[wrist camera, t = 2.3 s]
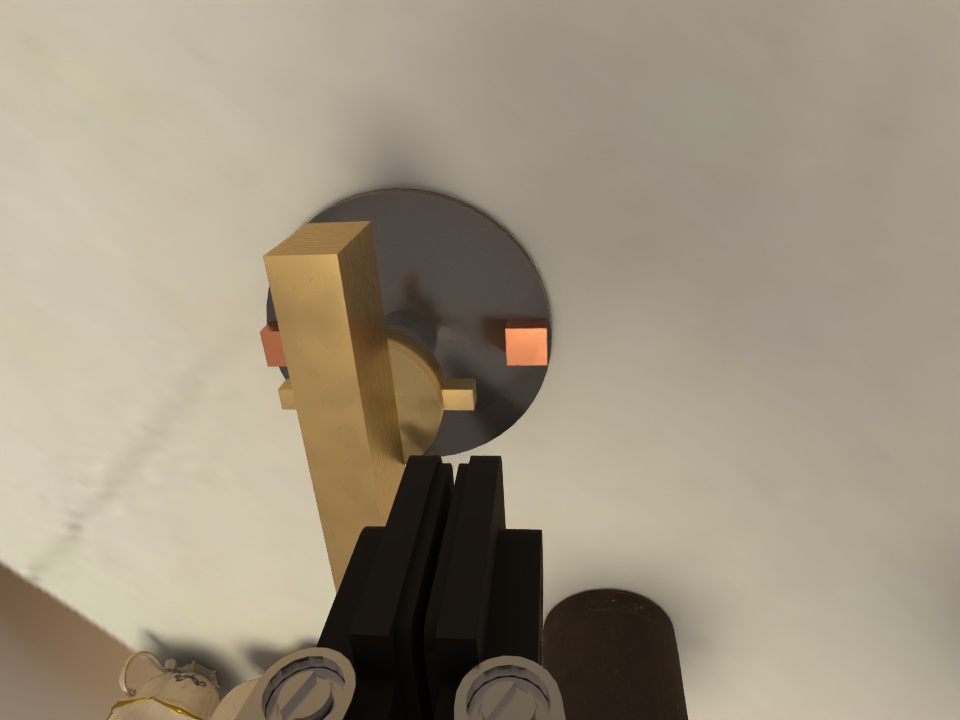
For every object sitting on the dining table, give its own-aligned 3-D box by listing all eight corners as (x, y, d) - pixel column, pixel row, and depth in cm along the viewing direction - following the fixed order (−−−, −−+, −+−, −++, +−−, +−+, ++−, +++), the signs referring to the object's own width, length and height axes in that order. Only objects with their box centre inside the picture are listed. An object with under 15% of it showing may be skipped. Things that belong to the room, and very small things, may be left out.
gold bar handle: (462, 205, 25) (435, 251, 19) (486, 529, 32) (471, 628, 27) (251, 213, 26) (170, 258, 21) (319, 524, 33) (272, 618, 28)
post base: (549, 182, 30) (546, 213, 25) (553, 449, 37) (551, 519, 31) (246, 194, 32) (184, 225, 27) (302, 446, 39) (260, 511, 33)
